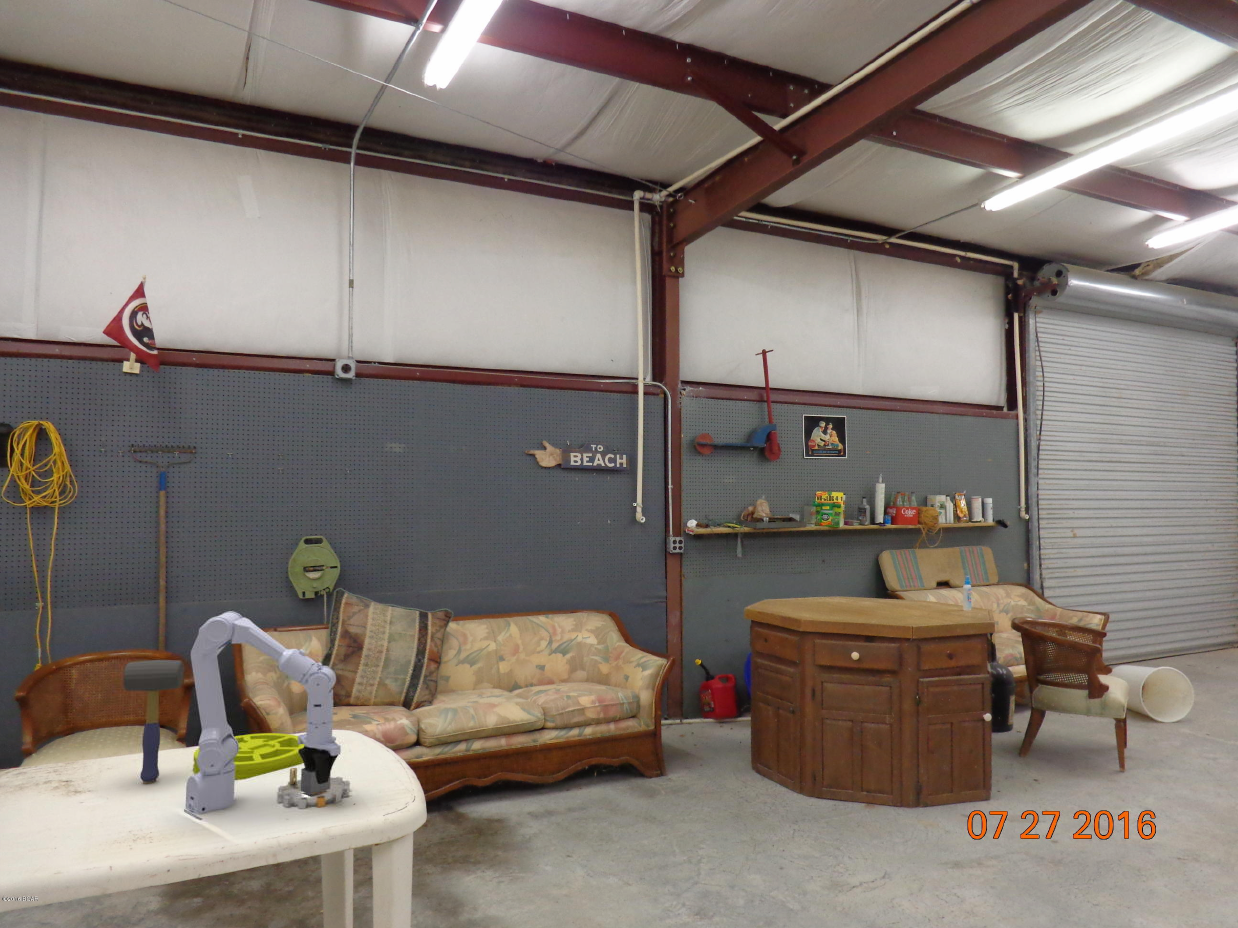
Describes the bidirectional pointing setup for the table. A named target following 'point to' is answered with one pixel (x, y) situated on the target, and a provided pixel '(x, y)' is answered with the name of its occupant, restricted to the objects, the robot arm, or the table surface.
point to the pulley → (263, 754)
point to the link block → (312, 781)
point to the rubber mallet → (152, 703)
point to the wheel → (297, 798)
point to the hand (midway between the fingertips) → (317, 780)
